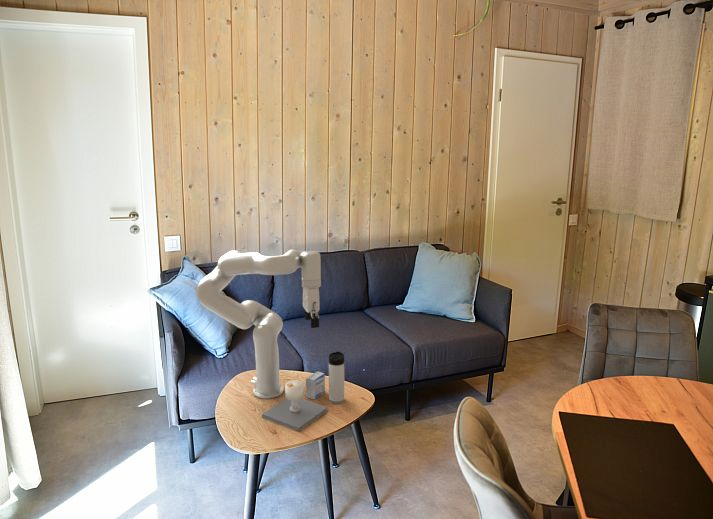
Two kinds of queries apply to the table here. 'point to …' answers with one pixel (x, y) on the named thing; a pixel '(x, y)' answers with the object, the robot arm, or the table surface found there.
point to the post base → (294, 413)
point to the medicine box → (315, 385)
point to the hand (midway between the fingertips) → (312, 323)
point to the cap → (294, 390)
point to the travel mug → (336, 377)
